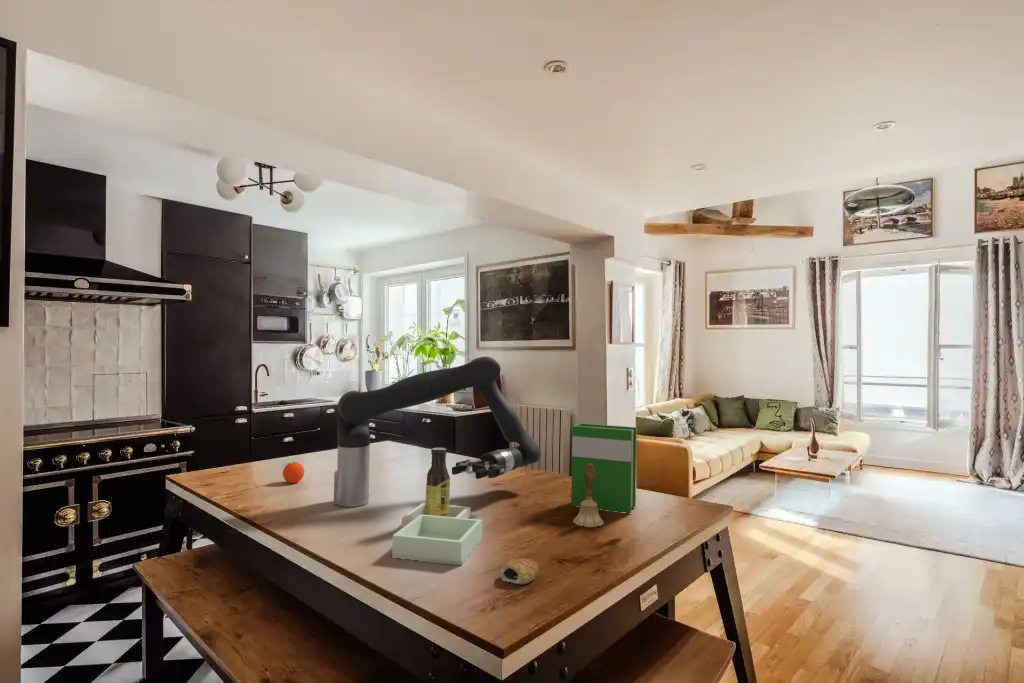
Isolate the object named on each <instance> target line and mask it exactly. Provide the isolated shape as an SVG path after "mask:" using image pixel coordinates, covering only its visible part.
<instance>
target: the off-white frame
mask: <svg viewBox="0 0 1024 683" xmlns="http://www.w3.org/2000/svg"><path fill="white" fill-rule="evenodd" d="M425 512H426V502H422V503H421V504H420V505H418V506H416V508H414V509H412V510H411V511H410V512H409V513H407V514H405V515H404V516H402V517H401V529H402V528H403V527H405V526H406V525H407V524H409V523H410V522H411V521H413V520H414V519H415V518H417V517H418V516H419V515H421V514H423V515H425ZM449 517H457V518H468V519H469V518H470V519H471V506H465V505H464V506H462V505H454V504H453V505H450V504H449Z"/></svg>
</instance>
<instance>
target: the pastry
mask: <svg viewBox="0 0 1024 683" xmlns="http://www.w3.org/2000/svg"><path fill="white" fill-rule="evenodd" d="M539 573H540V563H539V562H538V561H536V560H533V559H531V558H529V557H526V558H524V557H519V558H510V559H509V560H508V561H505V562H504V563H503V564H502V567H501V569H500V570H499V571H498V575H497V576H498V577H499V578H500V580H501V579H503V580H504V581H503V580H502V581H503V582H505V581H507V582H506V583H509V582H511V583H510V584H515V585H518V584H519V586H521V585H522V584H523V585H526V584H530V582H531V581H534V580H535V579H536V578H537V576H538V575H539Z"/></svg>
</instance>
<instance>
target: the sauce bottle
mask: <svg viewBox="0 0 1024 683" xmlns="http://www.w3.org/2000/svg"><path fill="white" fill-rule="evenodd" d="M430 452H431V453H430V454H431V463H430V464H431V466H430V468H429V469H428V472H427V474H426V485H425V503H426V512H425V515H434V516H445V517H449V505H450V493H451V492H450V491H451V490H450V488H451V484H450V483H451V479H450V478H451V477H450V475H449V471H448V467H447V463H446V462H447V461H446V460H447V457H446V456H447V448H446V447H434V448H431V451H430Z"/></svg>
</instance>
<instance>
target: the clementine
mask: <svg viewBox="0 0 1024 683" xmlns="http://www.w3.org/2000/svg"><path fill="white" fill-rule="evenodd" d="M284 466H285V467H284ZM282 467H283V470H282V476H283V479H284V480H285V482H287V483H291V484H295V483H298V482H300V481H301V480H302V479H303V478H304V475H305V468H304V466H303V465H302V463H300V462H295V461H293V462H287V463H285V464H283V465H282Z"/></svg>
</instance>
